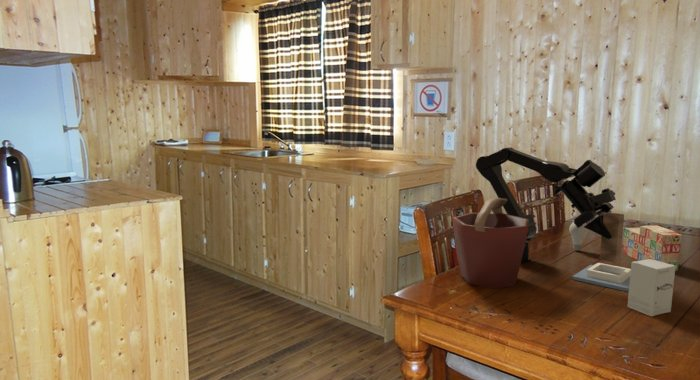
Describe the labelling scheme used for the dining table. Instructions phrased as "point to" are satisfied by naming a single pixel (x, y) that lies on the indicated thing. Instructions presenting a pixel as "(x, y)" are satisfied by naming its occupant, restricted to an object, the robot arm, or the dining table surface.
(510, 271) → the bucket
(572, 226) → the lightbulb
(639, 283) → the supplement box
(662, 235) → the stack of blocks
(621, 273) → the socket
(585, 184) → the robot arm
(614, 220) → the walnut pillar
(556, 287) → the dining table surface
